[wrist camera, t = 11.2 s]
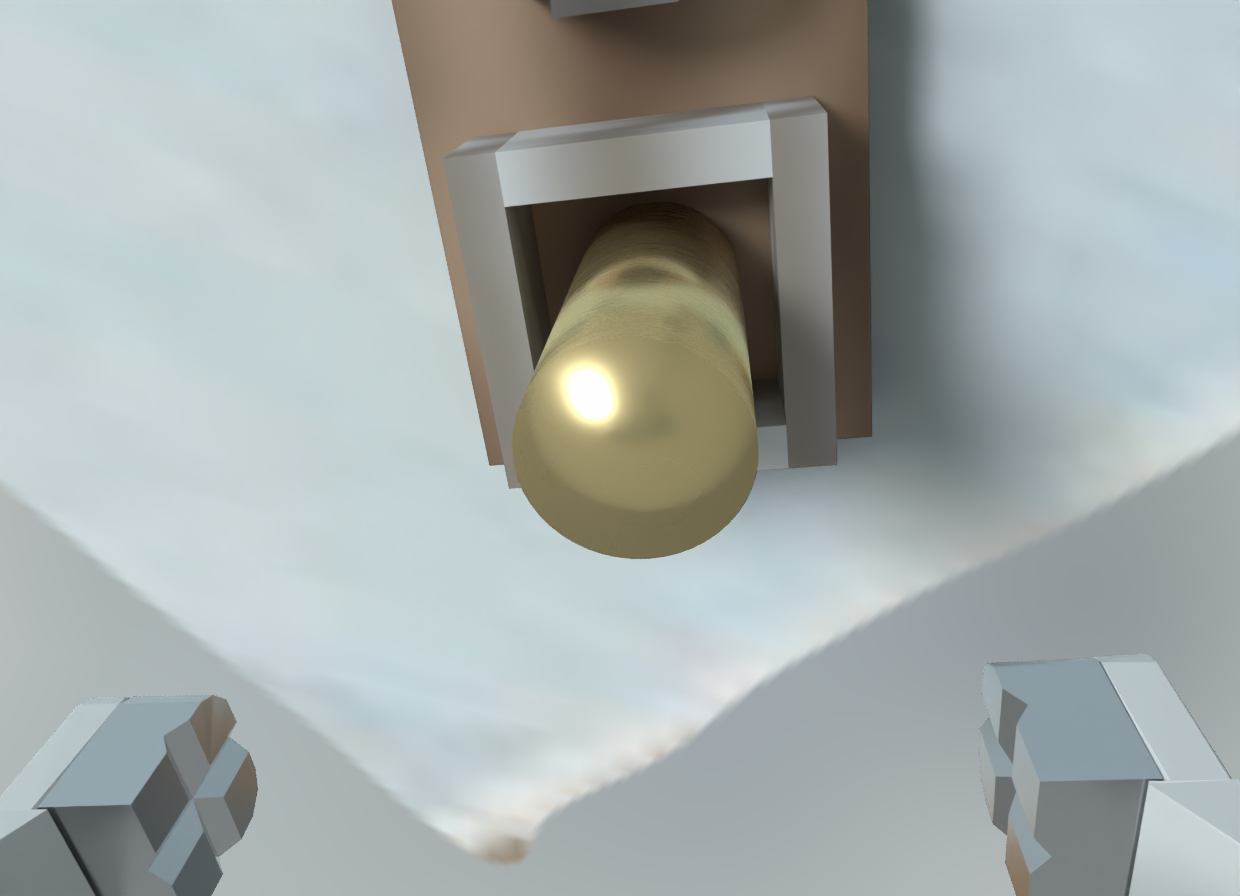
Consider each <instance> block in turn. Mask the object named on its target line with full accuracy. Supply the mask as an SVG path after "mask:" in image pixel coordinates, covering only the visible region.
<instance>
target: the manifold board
mask: <svg viewBox="0 0 1240 896" xmlns="http://www.w3.org/2000/svg"><path fill="white" fill-rule="evenodd" d="M392 4H393V9H394V14H395V18H396V23H397V28H398V33H399V37H400V42H401V47H402V52H403V56H404V61H405V66H406V71H407V75H408V80H409V85H410V90H411V94H412V99H413V104H414V109H415V113H416V118H417V123H418V128H419V132H420V137H421V142H422V147H423V151H424V156H425V161H426V166H427V171H428V175H429V180H430V185H431V190H432V194H433V199H434V204H435V209H436V213H437V218H438V223H439V228H440V232H441V237H442V242H443V247H444V251H445V256H446V261H447V266H448V270H449V275H450V280H451V285H452V289H453V294H454V299H455V304H456V308H457V313H458V318H459V323H460V327H461V332H462V337H463V342H464V346H465V351H466V356H467V361H468V365H469V370H470V375H471V380H472V384H473V389H474V394H475V399H476V403H477V408H478V413H479V418H480V422H481V427H482V432H483V437H484V441H485V446H486V451H487V456H488V461H489V465H490V466H492V465H504V466H505V471H506V476H507V481H508V486H509V489H510V488H521V485H520V483H519V481H518V478H517V475H516V471H515V467H514V463H513V455H512V433H513V428H514V422H515V418H516V415H517V412H518V409H519V407H520V404H521V402H522V399H523V397H524V395H525V392H526V390H527V388H528V385H529V383H530V381H531V378H532V376H533V373H534V371H535V369H536V366H537V364H538V362H539V359H540V357H541V355H542V352H543V350H544V348H545V345H546V343H547V340H548V338H549V336H550V333H551V331H552V329H553V326H554V324H555V322H556V319H557V317H558V315H559V312H560V310H561V307H562V305H563V303H564V300H565V298H566V296H567V293H568V291H569V289H570V286H571V284H572V282H573V279H574V277H575V274H576V272H577V270H578V267H579V265H580V263H581V260H582V258H583V256H584V253H585V251H586V249H587V247H588V245H589V243H590V241H591V239H592V238H593V236H594V235H595V233H596V232H597V231H598V230H599V228H600V227H601V226H602V225H603V224H604V223H605V222H606V221H608V220H609V219H610V218H611V217H613V216H614V215H616V214H617V213H619V212H620V211H622V210H625V209H627V208H629V207H632V206H635V205H638V204H642V203H647V202H660V201H662V202H673V203H677V204H682V205H685V206H687V207H690V208H693V209H695V210H697V211H699V212H700V213H702V214H704V215H705V216H707V217H708V218H709V219H711V220H712V221H713V222H714V223H715V224H716V225H717V226H718V227H719V228H720V229H721V230H722V231H723V233H724V234H725V235H726V237H727V238H728V240H729V242H730V243H731V245H732V247H733V250H734V252H735V255H736V258H737V262H738V267H739V274H740V283H741V292H742V301H743V310H744V319H745V328H746V336H747V345H748V354H749V363H750V372H751V381H752V390H753V399H754V408H755V417H756V426H757V435H758V444H759V461H758V467H757V471H758V470H771V469H785V468H799V467H812V466H826V465H837V442H836V439H846V438H860V437H872V390H871V289H870V189H869V88H868V0H392Z"/></svg>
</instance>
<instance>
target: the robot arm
mask: <svg viewBox="0 0 1240 896" xmlns="http://www.w3.org/2000/svg"><path fill="white" fill-rule="evenodd" d="M982 679H983V680H982V692H981V694H982V697H983V700H984V703H985V706H986V709H987V711H988V714H989V718H988V719H987V721H986V722H985V723H984V724H983V725H982V726H981V727H980V728H979V762H980V772H981V782H982V785H983V790H984V795H985V800H986V804H987V807H988V810H989V813H990V817H991V820H992V823H993V824H994V825H995V826H996V827H997V828H998V829H1000V830H1001V831H1002V832H1003V833H1005V834H1006V835H1007V845H1006V860H1005V863H1006V866H1007V869H1008V872H1009V875H1010V878H1011V881H1012V884H1013V887H1014V890H1015V893H1016V896H1240V779H1232V778H1231V777H1230V775H1229V773H1228V772H1227V770H1226V769H1225V767H1224V766H1223V764H1222V763H1221V761H1220V759H1219V758H1218V756H1217V755H1216V753H1215V752H1214V750H1213V749H1212V747H1211V745H1210V744H1209V742H1208V741H1207V739H1206V737H1205V736H1204V734H1203V733H1202V731H1201V730H1200V728H1199V727H1198V725H1197V723H1196V722H1195V720H1194V719H1193V717H1192V716H1191V714H1190V712H1189V711H1188V709H1187V708H1186V706H1185V705H1184V703H1183V702H1182V700H1181V698H1180V697H1179V695H1178V694H1177V692H1176V691H1175V689H1174V688H1173V686H1172V684H1171V683H1170V682H1169V680H1168V678H1167V677H1166V675H1165V673H1164V672H1163V670H1162V669H1161V667H1160V666H1159V664H1158V663H1157V661H1156V660H1155V659H1154V658H1152V657H1151V656H1149V655H1148V654H1130V655H1114V656H1097V657H1092V658H1091V659H1088V658H1079V659H1059V660H1037V661H1017V662H996V663H986V665H985V669H984V672H983V678H982ZM235 724H236V720H235V718H234V715H233V713H232V711H231V709H230V707H229V705H228V703H227V700H226V699H223V698H220V697H217V696H214V695H193V696H192V695H191V696H134V697H132V698H92V699H90V700H88V701H85V702H84V703H81V704H79V705H78V706H77V707H76V708H75V709H74V710H73V711H72V712H71V714H70V715H69V716H68V717H67V718H66V720H65V721H64V722H63V723H62V724H61V725H60V727H59V728H58V729H57V730H56V731H55V733H54V734H53V735H52V736H51V737H50V738H49V740H48V741H47V742H46V743H45V744H44V746H43V747H42V748H41V749H40V750H39V751H38V753H37V754H36V755H35V756H34V757H33V758H32V760H31V761H30V762H29V763H28V764H27V766H26V767H25V768H24V769H23V770H22V771H21V772H20V774H19V775H18V776H17V777H16V779H15V780H14V781H13V782H12V783H11V784H10V785H9V787H8V788H7V789H6V790H5V792H4V793H3V794H2V795H1V796H0V896H211V895H212V894H213V892H214V890H215V888H216V886H217V884H218V882H219V880H220V878H221V877H222V875H223V872H222V868H221V864H220V860H219V856H220V855H222V854H223V853H224V852H225V851H227V850H228V849H229V848H231V847H232V846H233V845H234V844H236V843H237V842H238V841H239V840H241V839H242V837H243V835H244V833H245V831H246V829H247V827H248V825H249V823H250V821H251V819H252V817H253V812H254V807H255V802H256V796H257V791H258V787H257V778H256V769H255V766H254V764H253V761H252V759H251V756H250V753H249V752H248V751H247V750H246V749H244V748H243V747H242V746H241V745H239V744H238V743H237V742H235V741H234V740H233V739H231V738H230V735H231V733H232V731H233V729H234V727H235Z"/></svg>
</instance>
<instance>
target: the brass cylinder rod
mask: <svg viewBox="0 0 1240 896" xmlns="http://www.w3.org/2000/svg"><path fill="white" fill-rule="evenodd" d="M512 455H513V463H514V467H515V471H516V475H517V478H518V481H519V483H520V485H521V488H522V490H523V492H524V494H525V495H526V497H527V499H528V501H529V502H530V504H531V505H532V506H533V508H534V509H535V510H536V512H537V513H538V514H539V515H540V516H541V517H542V518H543V519H544V520H545V521H546V522H547V523H548V524H549V525H550V526H551V527H552V528H553V529H555V530H556V531H557V532H559V533H560V534H561V535H563V536H564V537H566V538H567V539H569V540H571V541H572V542H574V543H576V544H578V545H580V546H583V547H585V548H587V549H589V550H592V551H595V552H598V553H601V554H605V555H610V556H614V557H620V558H630V559H650V558H658V557H665V556H669V555H673V554H678V553H680V552H683V551H686V550H689V549H691V548H694V547H696V546H698V545H700V544H702V543H704V542H705V541H707V540H708V539H710V538H711V537H713V536H714V535H716V534H717V533H719V532H720V531H721V530H722V529H723V528H724V527H725V526H727V525H728V524H729V523H730V522H731V520H732V519H733V518H734V517H735V516H736V515H737V514H738V512H739V511H740V509H741V508H742V506H743V505H744V503H745V502H746V500H747V498H748V496H749V494H750V491H751V489H752V487H753V484H754V480H755V477H756V473H757V467H758V461H759V444H758V435H757V426H756V417H755V408H754V399H753V390H752V381H751V372H750V363H749V354H748V345H747V336H746V328H745V319H744V310H743V301H742V292H741V283H740V274H739V267H738V262H737V258H736V255H735V252H734V250H733V247H732V245H731V243H730V242H729V240H728V238H727V237H726V235H725V234H724V233H723V231H722V230H721V229H720V228H719V227H718V226H717V225H716V224H715V223H714V222H713V221H712V220H711V219H709V218H708V217H707V216H705V215H704V214H702V213H700V212H699V211H697V210H695V209H693V208H690V207H687V206H685V205H682V204H677V203H673V202H662V201H660V202H647V203H642V204H638V205H635V206H632V207H629V208H627V209H625V210H622V211H620V212H619V213H617V214H616V215H614V216H613V217H611V218H610V219H609V220H608V221H606V222H605V223H604V224H603V225H602V226H601V227H600V228H599V230H598V231H597V232H596V233H595V235H594V236H593V238H592V239H591V241H590V243H589V245H588V247H587V249H586V251H585V253H584V256H583V258H582V260H581V263H580V265H579V267H578V270H577V272H576V274H575V277H574V279H573V282H572V284H571V286H570V289H569V291H568V293H567V296H566V298H565V300H564V303H563V305H562V307H561V310H560V312H559V315H558V317H557V319H556V322H555V324H554V326H553V329H552V331H551V333H550V336H549V338H548V340H547V343H546V345H545V348H544V350H543V352H542V355H541V357H540V359H539V362H538V364H537V366H536V369H535V371H534V373H533V376H532V378H531V381H530V383H529V385H528V388H527V390H526V392H525V395H524V397H523V399H522V402H521V404H520V407H519V409H518V412H517V415H516V418H515V422H514V428H513V433H512Z"/></svg>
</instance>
